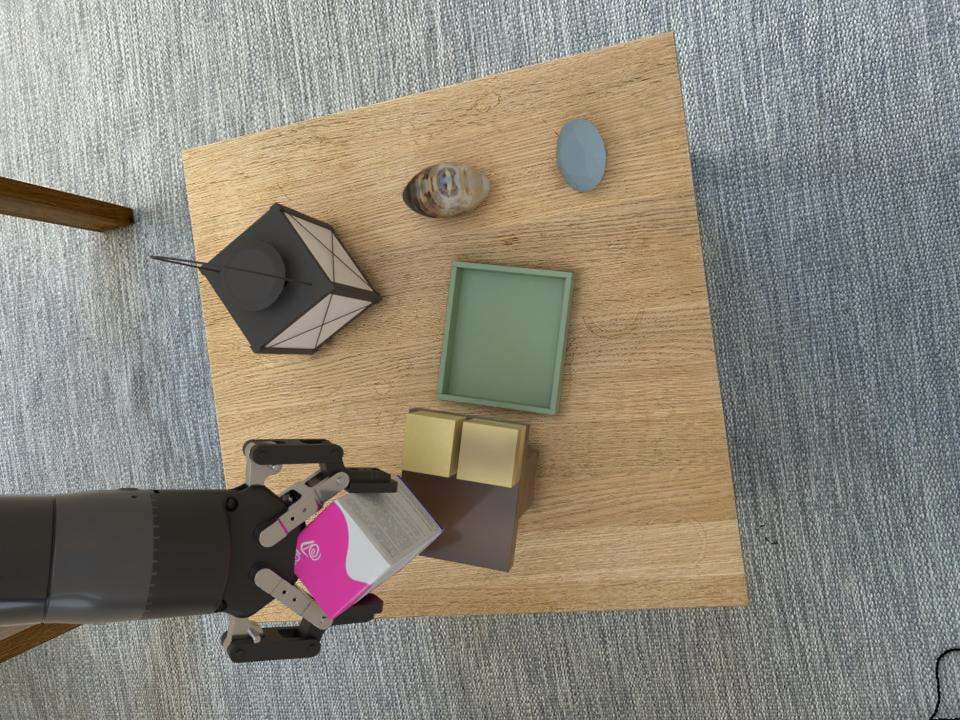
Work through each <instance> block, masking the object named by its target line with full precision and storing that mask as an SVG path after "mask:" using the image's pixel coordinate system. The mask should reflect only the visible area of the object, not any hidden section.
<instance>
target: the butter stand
mask: <svg viewBox="0 0 960 720" xmlns="http://www.w3.org/2000/svg"><path fill="white" fill-rule="evenodd" d="M416 411H427V412H434V413H441V414H448V415H455V416H462V417H466V421H464V422H463V427H462V435H461V444H460V452H459V460H458V469H457V473H456V474H454V475H452V476H450V477H442V476H436V475H430V474H424V473H418V472H412V471H406V470H401V475H400V476H401V478H402V479H403V480H404V481H405V482H406V483H407V485H408V486H409V487H410V488H411V489H412V491H413V492H414V493H415V494H416V496H417V497H418V498H419V499H420V501H421V502H422V503H423V504H424V506H425V507H426V508H427V509H428V510H429V512H430V513H431V514H432V515H433V516H434V517H435V519H436V520H437V521H438V522H439V523H440V525H441V526H442V527H443V528H444V532H443V533H442V534H440V535H439V536H438V537H437V538H436V539H435V540H434V541H433V542H432V543H431V544H430V545H429V546H428V547H427V548H425V549H424V550H423V551H422V552H421V553H420V554H419V555H418V556H421V557H424V558H431V559H436V560H441V561H446V562H452V563H457V564H462V565H467V566H472V567H477V568H483V569H488V570H494V571H498V572H504V573H509V572H510V571H511V570H512V568H513V567H514V563H515V555H516V546H517V537H518V531H519V530H518V529H519V521H520V519H521V518H522V517H523V516H524V515H525V513H526V512H527V511H528V510H529V509H530V508H531V507H532V505H533V504H534V497H535V489H536V488H535V487H536V480H537V472H538V465H539V464H538V462H539V454H540V451H539V450H535V449H529V441H530V440H529V439H530V432H531V423H527V422H521V421H514V420H507V419H502V418H501V419H500V418H493V417H486V416H480V415H479V416H478V415H474V414H473V415H472V414H465V413H459V412H451V411H444V410H439V409H429V408H423V407H412V408H408V413H412V412H416Z"/></svg>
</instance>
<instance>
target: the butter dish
mask: <svg viewBox="0 0 960 720" xmlns="http://www.w3.org/2000/svg"><path fill="white" fill-rule="evenodd" d="M575 280H576V275H575V274H574V273H573V272H572V271H563V270H562V271H561V270H552V269H551V270H550V269H540V268H531V267H530V268H529V267H519V266H510V265H509V266H508V265H498V264H489V263H478V262H476V263H475V262H468V261H467V262H466V261H456V260H452V261H451V270H450V279H449V286H448V296H447V303H446V313H445V321H444V329H443V337H442V346H441V355H440V361H439V371H438V378H437V379H438V381H437V387H436V388H437V389H436V396H435V398H436V400H442V401H449V402H450V401H451V402H456V403H457V402H458V403H465V404H471V405H472V404H473V405H479V406H487V407H491V408H498V409H499V408H501V409H507V410H514V411H521V412H528V413H534V414H535V413H536V414H543V415H550V416H555V415H558V414H559V410H560V403H561V395H562V388H563V387H562V386H563V379H564V370H565V362H566V355H567V354H566V353H567V345H568V339H569V338H568V337H569V329H570V321H571V314H572V313H571V312H572V305H573V296H574V289H575V282H576V281H575Z"/></svg>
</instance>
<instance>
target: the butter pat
mask: <svg viewBox="0 0 960 720" xmlns="http://www.w3.org/2000/svg"><path fill="white" fill-rule="evenodd" d="M464 421H466V417H462V416H455V415H448V414H441V413H434V412H427V411H416V412H412V413H409V412H407V413H406V419H405V427H404V435H403V444H402V453H401V462H400V471H402V470H406V471H412V472H418V473H424V474H430V475H436V476H442V477H450V476H452V475H454V474H456V473H457V469H458V460H459V452H460V444H461V435H462V427H463V422H464Z"/></svg>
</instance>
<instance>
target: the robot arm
mask: <svg viewBox="0 0 960 720" xmlns="http://www.w3.org/2000/svg"><path fill="white" fill-rule="evenodd" d="M241 451H242V455H244V456H245V457H246V463H245V465H246V468H245V479H244V480H245V481H244V482H243V483H241V484H240V485H238V486H235V487H232V488H226V489H225V488H218V489H217V488H215V489H214V488H212V489H211V488H206V489H203V488H202V489H201V488H199V489H198V488H197V489H195V488H193V489H192V488H191V489H187V488H186V489H185V488H183V489H181V488H178V489H177V488H176V489H175V488H173V489H172V488H171V489H165V488H162V489H161V488H160V489H158V488H157V489H156V488H155V489H154V488H153V489H148V488H147V489H144V488H143V489H140V488H138V487H119V488H117V489H116V488H115V489H114V488H113V489H93V490H83V491H77V492H68V493H55V494H52V493H0V628H4V627H5V628H6V627H17V626H28V625H40V624H42V623H43V624H69V625H97V624H111V623H121V622H134V621H146V620H158V619H169V618H180V617H181V618H182V617H192V616H193V617H194V616H205V615H212V614H217V613H224V614H227V615H229V620H228V626H227V630H226V631H224V632H223V633H222V634H221V636H220V645H221V646H222V648H223V649H224V652H225V653H226V654H227V656H228V658H229V660H230V661H231V662H233V663H235V664H242V663H257V662H258V663H259V662H271V661H282V660H283V661H284V660H297V659H309V658H310V659H311V658H314V657H316V656H317V655H319V653H320V652H321V649H322V644H321V641H322V638H323V636H324V634H325V632H326V631H327V630H328V629H329V628H331V627H334V626H344V625H353V624H364V623H369V622H370V621H372V620H374V619H375V615H377V614H382V613H383V611H384V604H385V603H384V600H383V599H382V598H380V597H379V596H378V595H377V594H376V593H372V592H370V593H369V594H367V595H366V596H364V597H363V598H362V599H360V600H359V601H358V602H356V603H355V604H354V605H352V606H351V607H349V608H348V609H347V610H345V611H344V612H343V613H341V614H340V615H338V616H337V617H336V618H334V619H332V620H330V619H329V618H328V616H327V615H326V614H325V613H324V611H323V610H322V609H321V607H320V606H319V604H318V603H317V602H316V600H315V599H314V598H313V596H312V595H311V594H310V592H308V591H307V590H305V589H304V588H302V587H301V586H300V585H299V584H298V583H297V582H298V580H300V579H299V578H298V577H297V576H296V574H295V573H294V566H295V556H296V547H297V539H298V536H299V534H300V532H301V531H302V530H303V529H304V528H305V527H306V526H307V523H306V521H307V520H308V519H310V518H311V517H313V516H314V515H315V514H316V513H318V512H320V511H321V510H322V509H323V507H324V505H325V503H326V502H328V501H330V500H331V499H332V498H334V497H336V496H337V495H338V494H339V493H341V492H342V491H344V492H346V493H347V494H350V493H396V492H397V487H398V482H397V481H395V480H393V479H391V477H392V474H391V473H389V472H386V471H385V470H382V469H381V468H378V467H367V466H364V467H363V466H362V467H359V466H345V463H344V459H343V458H344V455H345V451H344V449H343V447H342V446H341V445H339V444H337V443H334V442H332V441H330V439H327V438H258V439H257V438H253V439H248V440H246V441H245V442H244V443H243V445H242V449H241ZM310 464H312V465H315V464H318V466H319V469H317V470H316V471H315V472H313V473H311V474H310V475H309V476H306V478H304V479H302V480H298V481H297V482H296V481H295V482H294V483H293V484H291V485H290V486H288V487H287V488H285V489H283V490H282V491H281V492H279V493H278V494H276V493H275V492H274V491H272V490H271V489H270V488H269V487H268V486H266V485H265V484H264V482H265V481H266V480H267V478H269V477H271V476H274V475H277V474H279V473H280V472H281V471H282V469H283V466H284V465H310ZM274 600H277V601H278V602H280V603H281V604H282V605H283V606H285V607H287V608H288V609H290V611H292V612H294V613H295V614H296V615H298V617H301V620H300V622H299V625H290V626H287V625H286V626H270V627H269V626H268V627H262V626H261V625H260V624H259V623H258V622H257V621H255V620H250V619H249V618H250V617H253V616H254V615H256V614H257V613H258V612H260V611H261V610H263V609H264V608H265V607H266V606H268V605H270V603H271V602H273V601H274Z"/></svg>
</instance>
